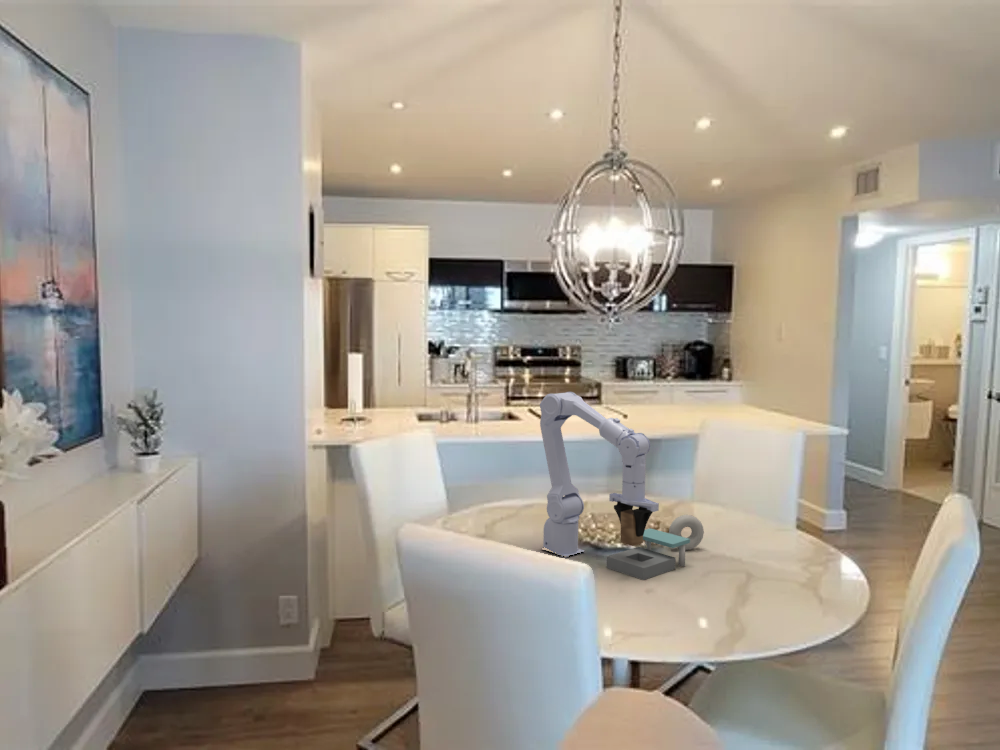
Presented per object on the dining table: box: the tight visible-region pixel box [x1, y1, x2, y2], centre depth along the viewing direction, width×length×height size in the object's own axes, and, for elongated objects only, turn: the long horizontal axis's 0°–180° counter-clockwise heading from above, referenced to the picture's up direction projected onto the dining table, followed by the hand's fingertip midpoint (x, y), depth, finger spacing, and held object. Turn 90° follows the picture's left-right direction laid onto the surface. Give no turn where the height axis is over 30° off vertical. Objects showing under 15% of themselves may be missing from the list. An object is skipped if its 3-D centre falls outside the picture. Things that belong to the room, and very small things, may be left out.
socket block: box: [605, 546, 676, 581], centre depth 193 cm, size 12×13×3 cm
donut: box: [668, 514, 705, 551], centre depth 209 cm, size 10×3×10 cm, turn 97°
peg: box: [620, 509, 644, 547], centre depth 190 cm, size 4×4×8 cm
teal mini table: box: [643, 527, 690, 568], centre depth 198 cm, size 13×8×7 cm, turn 41°
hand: (632, 533), depth 191 cm, fingers closed on peg, 4 cm apart
